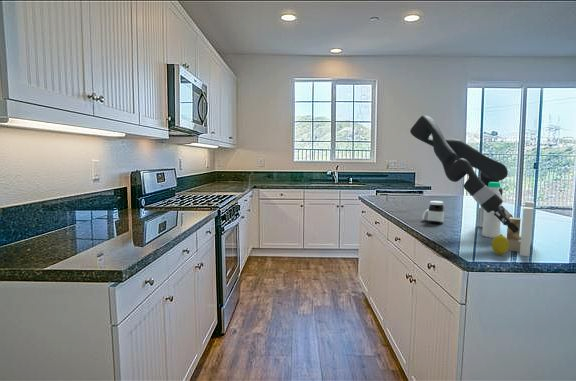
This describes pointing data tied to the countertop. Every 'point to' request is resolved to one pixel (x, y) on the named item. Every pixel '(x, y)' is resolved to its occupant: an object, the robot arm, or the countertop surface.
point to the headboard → (524, 232)
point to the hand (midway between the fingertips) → (517, 229)
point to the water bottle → (492, 216)
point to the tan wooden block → (510, 233)
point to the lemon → (500, 244)
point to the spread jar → (434, 213)
